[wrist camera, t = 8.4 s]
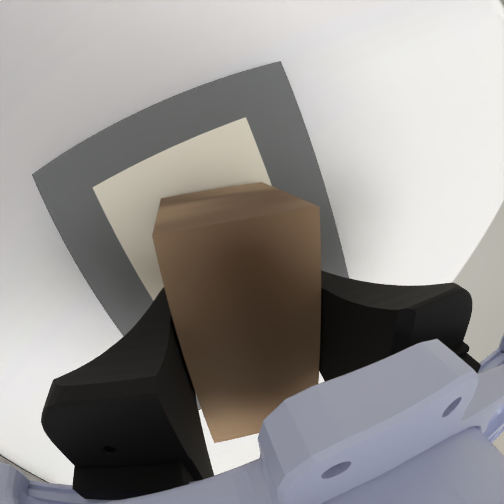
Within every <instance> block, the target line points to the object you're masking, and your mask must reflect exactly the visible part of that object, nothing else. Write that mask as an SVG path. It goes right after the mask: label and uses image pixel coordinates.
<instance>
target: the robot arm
mask: <svg viewBox="0 0 504 504" xmlns="http://www.w3.org/2000/svg"><path fill="white" fill-rule="evenodd" d="M471 313H472V298H471V295H470V293H469V292H468V291H467V290H465V289H464V288H462V287H460V286H459V285H457V284H455V283H445V284H436V285H425V286H397V285H384V284H375V283H369V282H364V281H358V280H353V279H349V278H346V277H342V276H338V275H335V274H331V273H328V272H325V271H322V270H321V332H320V360H319V371H320V373H321V375H322V377H323V379H324V381H325V382H323V383H320V384H317V385H314V386H311V387H309V388H307V389H305V390H303V391H301V392H299V393H297V394H295V395H293V396H291V397H289V398H287V399H285V400H284V401H283V402H282V403H281V404H280V405H279V406H278V407H277V408H276V409H274V410H273V411H272V412H271V413H270V414H269V415H268V416H267V417H266V418H265V419H264V420H263V423H262V426H261V429H260V433H259V436H258V442H259V448H260V453H261V454H260V458H259V459H257V460H254V461H252V462H249V463H247V464H245V465H242V466H239V467H237V468H234V469H232V470H229V471H226V472H224V473H221V474H218V475H215V476H214V473H213V470H212V466H211V463H210V459H209V455H208V451H207V447H206V443H205V439H204V434H203V430H202V426H201V421H200V416H199V411H198V406H197V400H196V392H195V389H194V386H193V383H192V380H191V377H190V374H189V371H188V368H187V365H186V362H185V359H184V356H183V352H182V349H181V346H180V343H179V339H178V336H177V333H176V329H175V326H174V322H173V319H172V315H171V311H170V308H169V304H168V300H167V296H166V293H165V289H164V287H163V288H162V289H161V291H160V292H159V294H158V295H157V297H156V298H155V300H154V301H153V303H152V304H151V306H150V307H149V308H148V310H147V311H146V312H145V314H144V315H143V316H142V317H141V318H140V320H139V321H138V322H137V323H136V325H135V326H134V327H133V328H132V329H131V330H130V331H129V332H128V333H127V334H126V335H125V336H124V337H123V338H122V339H120V340H119V341H118V342H117V343H116V344H114V345H113V346H112V347H110V348H109V349H108V350H107V351H105V352H104V353H103V354H101V355H100V356H98V357H97V358H95V359H94V360H92V361H90V362H89V363H87V364H85V365H84V366H82V367H80V368H78V369H76V370H74V371H72V372H70V373H67V374H65V375H63V376H61V377H59V378H56V379H54V380H53V382H52V385H51V387H50V390H49V393H48V396H47V399H46V402H45V406H44V409H43V412H42V418H41V423H42V426H43V429H44V431H45V433H46V434H47V436H48V437H49V438H50V440H51V441H52V442H53V443H54V444H55V445H56V447H57V448H58V449H59V450H60V451H61V452H62V453H63V454H64V455H65V456H66V457H67V458H68V459H69V460H70V461H71V462H72V463H73V464H74V465H75V468H74V477H73V485H63V484H53V483H46V482H39V481H32V480H28V478H27V477H26V476H25V475H24V474H23V473H22V472H21V471H19V470H18V469H17V468H15V467H13V466H11V465H9V464H5V463H0V504H504V456H503V454H502V453H501V452H500V451H499V450H498V449H497V448H496V447H495V446H494V445H493V444H492V443H493V442H494V440H496V438H497V437H498V436H499V435H500V434H501V433H502V432H503V431H504V335H503V336H502V339H501V341H500V344H499V348H498V349H497V350H495V351H494V352H493V353H492V354H490V355H489V356H488V357H486V358H485V359H484V360H483V361H481V362H480V363H478V362H477V361H476V360H474V359H473V358H472V357H471V356H470V355H469V354H467V352H468V351H469V346H468V345H467V344H465V343H464V342H463V339H464V336H465V334H466V330H467V327H468V324H469V321H470V317H471Z"/></svg>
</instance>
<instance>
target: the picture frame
mask: <svg viewBox="0 0 504 504" xmlns="http://www.w3.org/2000/svg"><path fill="white" fill-rule="evenodd" d="M32 176H33V178H34V180H35V183H36V185H37V187H38V190H39V192H40V194H41V196H42V199H43V201H44V203H45V205H46V207H47V209H48V211H49V213H50V215H51V217H52V220H53V222H54V224H55V225H56V227H57V229H58V231H59V233H60V235H61V237H62V239H63V241H64V243H65V245H66V246H67V248H68V250H69V252H70V254H71V255H72V257H73V259H74V261H75V262H76V264H77V266H78V268H79V269H80V271H81V273H82V274H83V276H84V278H85V279H86V281H87V282H88V284H89V286H90V287H91V289H92V290H93V292H94V294H95V295H96V297H97V298H98V300H99V301H100V303H101V304H102V306H103V307H104V309H105V310H106V312H107V313H108V315H109V316H110V318H111V319H112V321H113V322H114V323H115V325H116V326H117V328H118V329H119V330H120V332H121V333H122V335H123V336H125V335H126V334H127V333H128V332H129V331H130V330H131V329H132V328H133V327H134V326H135V325H136V323H137V322H138V321H139V320H140V318H141V317H142V316H143V315H144V314H145V312H146V311H147V310H148V308H149V307H150V306H151V304H152V303H153V301H154V300H155V298H156V297H157V295H158V294H159V292H160V291H161V289H162V288H163V287H164V285H163V281H162V277H161V272H160V268H159V264H158V260H157V255H156V251H155V246H154V242H153V237H152V234H153V230H154V225H155V221H156V217H157V213H158V208H159V204H160V200H161V198H166V197H172V196H177V195H182V194H188V193H194V192H200V191H206V190H212V189H218V188H224V187H231V186H238V185H244V184H251V183H259V182H263V183H266V184H268V185H270V186H273V187H275V188H278V189H280V190H282V191H285V192H287V193H289V194H292V195H294V196H296V197H298V198H301V199H303V200H305V201H308V202H310V203H312V204H314V205H316V206H319V207H320V235H321V270H322V271H325V272H328V273H331V274H335V275H338V276H342V277H346V278H349V277H348V272H347V268H346V264H345V260H344V255H343V251H342V247H341V243H340V239H339V236H338V232H337V228H336V224H335V220H334V217H333V213H332V209H331V206H330V202H329V199H328V195H327V192H326V189H325V185H324V182H323V179H322V175H321V172H320V169H319V166H318V163H317V159H316V156H315V153H314V150H313V147H312V144H311V141H310V138H309V135H308V132H307V129H306V127H305V124H304V121H303V118H302V115H301V112H300V110H299V107H298V104H297V102H296V99H295V96H294V94H293V91H292V88H291V86H290V83H289V81H288V78H287V76H286V73H285V71H284V68H283V66H282V63H281V61H280V62H276V63H272V64H268V65H264V66H260V67H257V68H253V69H250V70H246V71H243V72H240V73H237V74H233V75H230V76H227V77H224V78H221V79H218V80H215V81H212V82H210V83H207V84H204V85H201V86H199V87H196V88H193V89H191V90H188V91H186V92H183V93H181V94H178V95H176V96H173V97H171V98H168V99H166V100H164V101H161V102H159V103H157V104H155V105H152V106H150V107H148V108H146V109H144V110H142V111H139V112H137V113H135V114H133V115H131V116H129V117H127V118H125V119H123V120H121V121H119V122H117V123H115V124H113V125H112V126H110V127H108V128H106V129H104V130H102V131H100V132H99V133H97V134H95V135H93V136H92V137H90V138H88V139H86V140H85V141H83V142H81V143H80V144H78V145H76V146H75V147H73V148H71V149H70V150H68V151H67V152H65V153H63V154H62V155H60V156H59V157H57V158H56V159H54V160H53V161H51V162H50V163H48V164H47V165H45V166H44V167H42V168H41V169H39V170H38V171H36V172H35V173H34V174H32ZM196 400H197V406H198V410H200V409H201V406H200V403H199V401H198V398H197V395H196Z"/></svg>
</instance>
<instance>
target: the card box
mask: <svg viewBox="0 0 504 504" xmlns="http://www.w3.org/2000/svg"><path fill="white" fill-rule="evenodd" d="M152 237H153V242H154V246H155V251H156V255H157V260H158V264H159V268H160V272H161V277H162V281H163V285H164V289H165V293H166V296H167V300H168V304H169V308H170V311H171V315H172V319H173V322H174V326H175V329H176V333H177V336H178V339H179V343H180V346H181V349H182V352H183V356H184V359H185V362H186V365H187V368H188V371H189V374H190V377H191V380H192V383H193V386H194V389H195V392H196V395H197V398H198V401H199V403H200V406H201V409H202V412H203V414H204V417H205V420H206V422H207V425H208V428H209V430H210V433H211V435H212V438H213V440H214V443H216V442H221V441H226V440H231V439H235V438H240V437H244V436H248V435H252V434H256V433H260V429H261V426H262V423H263V420H264V419H265V418H266V417H267V416H268V415H269V414H270V413H271V412H272V411H273V410H274V409H276V408H277V407H278V406H279V405H280V404H281V403H282V402H283V401H284V400H285V399H287V398H289V397H291V396H293V395H295V394H297V393H299V392H301V391H303V390H305V389H307V388H309V387H311V386H314V385H317V384H318V380H319V360H320V332H321V235H320V207H319V206H316V205H314V204H312V203H310V202H308V201H305V200H303V199H301V198H298V197H296V196H294V195H292V194H289V193H287V192H285V191H282V190H280V189H278V188H275V187H273V186H270V185H268V184H266V183H263V182H259V183H251V184H244V185H238V186H231V187H224V188H218V189H212V190H206V191H200V192H194V193H188V194H182V195H177V196H172V197H166V198H161V200H160V204H159V208H158V213H157V217H156V221H155V225H154V230H153V234H152Z"/></svg>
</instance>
